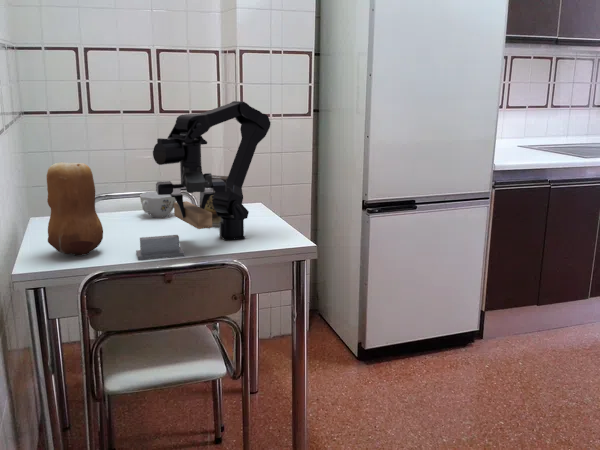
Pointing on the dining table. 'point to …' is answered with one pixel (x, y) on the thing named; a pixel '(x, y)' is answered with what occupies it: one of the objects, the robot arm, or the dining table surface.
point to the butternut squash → (72, 209)
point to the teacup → (157, 204)
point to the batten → (194, 215)
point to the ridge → (159, 247)
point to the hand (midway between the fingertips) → (192, 217)
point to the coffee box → (210, 207)
